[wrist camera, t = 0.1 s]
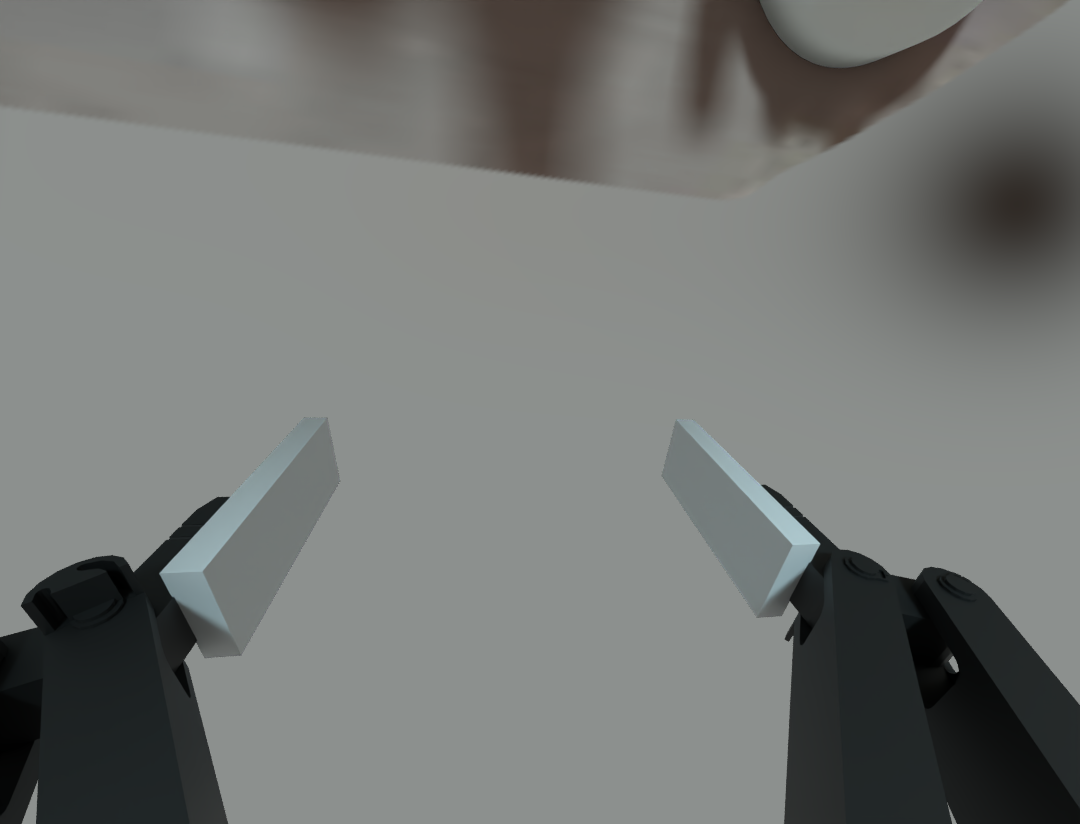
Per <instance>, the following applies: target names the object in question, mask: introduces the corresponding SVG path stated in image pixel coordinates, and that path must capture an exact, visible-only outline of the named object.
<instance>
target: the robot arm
mask: <svg viewBox="0 0 1080 824" xmlns="http://www.w3.org/2000/svg"><path fill="white" fill-rule="evenodd" d="M662 477H663V479H664V480H665V482H666V483H667V485H668V486H669V488H670V489H671V490H672V492H673V493H674V495H675V497H676V498H677V500H678V501H679V502H680V504H681V505H682V507H683V508H684V510H685V511H686V513H687V514H688V516H689V517H690V519H691V520H692V522H693V523H694V525H695V526H696V528H697V529H698V531H699V532H700V534H701V535H702V537H703V538H704V540H705V541H706V543H707V544H708V546H709V547H710V548H711V550H712V552H713V553H714V555H715V556H716V558H717V559H718V560H719V562H720V563H721V565H722V566H723V568H724V569H725V571H726V572H727V574H728V575H729V577H730V578H731V580H732V581H733V583H734V584H735V586H736V587H737V589H738V590H739V592H740V593H741V595H742V596H743V598H744V599H745V601H746V602H747V604H748V605H749V607H750V608H751V609H752V611H753V612H754V614H755V616H756V617H757V618H760V617H774V616H782V614H783V612H784V611H785V609H786V607H787V605H788V603H789V601H790V602H791V603H792V604H793V605H794V607H795V608H796V609H797V610H798V612H799V613H798V615H797V617H796V618H795V620H794V622H793V624H792V626H791V627H790V629H789V631H788V632H787V635H786V637H785V640H787V641H790V639H791V637H792V636H794V639H793V659H792V679H791V700H790V719H789V740H788V759H787V760H788V761H787V779H786V800H785V820H784V824H952V821H951V817H950V813H949V809H948V805H949V807H950V809H951V811H952V814H953V816H954V818H955V820H956V823H957V824H1080V705H1079V704H1078V702H1077V701H1076V700H1075V699H1074V698H1073V696H1072V695H1071V694H1070V693H1069V692H1068V690H1067V689H1066V688H1065V687H1064V686H1063V684H1062V683H1061V682H1060V681H1059V679H1058V678H1057V677H1056V676H1055V675H1054V674H1053V672H1052V671H1051V670H1050V669H1049V667H1048V666H1047V665H1046V664H1045V663H1044V661H1043V660H1042V659H1041V658H1040V657H1039V655H1038V654H1037V653H1036V652H1035V651H1034V649H1033V648H1032V647H1031V646H1030V645H1029V643H1028V642H1027V641H1026V640H1025V638H1024V637H1023V636H1022V635H1021V634H1020V632H1019V631H1018V630H1017V629H1016V628H1015V626H1014V625H1013V624H1012V623H1011V622H1010V620H1009V619H1008V618H1007V617H1006V616H1005V614H1004V613H1003V612H1002V611H1001V610H1000V608H999V607H998V606H997V605H996V604H995V602H994V601H993V600H992V599H991V598H990V597H989V596H988V595H987V594H986V593H985V592H984V591H983V590H982V589H981V588H979V587H978V586H976V585H975V584H974V583H972V582H971V581H970V580H968V579H966V578H965V577H961V575H958V574H956V573H953V572H950V571H947V570H944V569H941V568H934V567H929V568H924V569H923V571H922V572H921V573H920V575H919V576H918V577H917V579H916V580H914V579H909V578H904V577H899V576H894V575H890V574H889V573H888V572H887V571H886V570H885V569H884V568H883V567H882V566H880V565H879V564H878V563H876V562H875V561H873V560H872V559H870V558H868V557H866V556H864V555H862V554H859V553H856V552H853V551H849V550H840V549H838V548H837V547H836V546H835V545H834V544H833V543H832V542H831V541H830V540H829V539H828V538H827V537H826V536H825V535H824V534H823V533H821V532H820V531H819V530H818V529H817V528H816V527H815V526H814V525H813V524H812V523H811V522H810V521H809V520H808V519H807V518H806V517H803V515H802V514H801V513H800V512H799V511H798V510H797V509H796V508H793V505H792V504H791V503H790V502H789V501H787V499H785V498H784V497H783V496H782V495H781V494H779V493H778V492H776V491H775V490H773V489H771V488H770V487H768V486H766V485H760V484H759V483H758V482H757V481H756V480H755V479H754V478H753V477H752V476H751V475H750V474H749V473H748V472H747V471H746V470H745V469H743V467H742V466H741V465H739V464H738V462H736V461H735V460H734V459H733V458H732V457H731V456H730V455H729V454H728V453H727V452H726V451H725V450H724V449H723V448H722V447H721V446H720V445H719V444H718V443H717V442H716V441H715V440H714V439H713V438H712V437H711V436H710V435H709V434H708V433H707V432H706V431H705V430H704V429H703V428H702V427H701V426H700V425H699V424H698V423H697V422H696V421H694V420H676V421H675V426H674V429H673V433H672V437H671V441H670V445H669V449H668V452H667V456H666V460H665V464H664V468H663V472H662ZM339 482H340V477H339V473H338V468H337V463H336V458H335V453H334V448H333V443H332V438H331V434H330V428H329V423H328V418H303V419H302V420H301V421H300V423H299V424H298V425H297V426H296V427H295V428H294V429H293V430H292V431H291V432H290V433H289V435H287V436H286V438H285V439H284V440H283V441H282V442H281V443H280V444H279V445H278V446H277V447H276V448H275V449H274V450H273V452H272V453H271V454H270V455H269V456H268V457H267V458H266V459H265V460H264V461H263V462H262V463H261V465H260V466H259V467H258V468H257V469H256V470H255V471H254V472H253V473H252V474H251V475H250V476H249V477H248V479H247V480H246V481H245V482H244V483H243V484H242V485H241V486H240V487H239V488H238V489H237V490H236V491H235V493H234V494H233V495H232V496H231V497H217V498H215V499H214V500H212V501H210V502H209V503H207V504H205V505H204V506H202V507H201V508H199V509H197V510H196V511H195V512H194V513H193V514H192V515H191V516H190V517H189V518H188V519H187V520H186V521H185V522H184V523H183V524H182V527H179V528H178V529H177V530H176V531H175V532H174V533H173V534H172V535H171V536H170V539H169V540H166V541H165V542H164V543H163V544H162V545H161V546H160V547H159V548H158V549H157V550H156V551H155V552H154V553H153V554H152V555H151V556H150V557H149V558H148V559H147V560H146V561H145V562H144V563H143V564H142V565H141V566H140V567H139V568H138V569H137V570H136V571H135V572H134V573H133V571H132V570H131V568H130V566H129V564H128V563H127V561H126V560H125V559H124V558H123V557H118V556H113V555H111V556H102V557H95V558H92V559H88V560H85V561H81V562H78V563H75V564H73V565H71V566H69V567H66V568H64V569H62V570H60V571H57V572H56V573H54V574H53V575H51V576H49V577H48V578H46V579H45V580H43V581H42V582H40V583H38V584H37V585H36V586H35V587H34V588H33V589H32V590H31V591H30V592H29V593H28V594H27V595H26V596H25V598H24V600H23V602H22V604H21V607H22V608H23V609H24V610H25V612H26V613H27V614H28V615H29V617H30V618H31V619H32V620H33V621H34V623H35V624H36V625H37V628H33V629H29V630H26V631H22V632H18V633H14V634H11V635H7V636H3V637H0V824H22V821H23V818H24V816H25V813H26V810H27V808H28V805H29V802H30V800H31V797H32V794H33V792H34V789H35V786H36V784H37V781H38V795H37V797H38V798H37V816H36V824H228V822H227V818H226V814H225V810H224V806H223V802H222V798H221V794H220V790H219V786H218V782H217V778H216V774H215V770H214V766H213V763H212V759H211V755H210V751H209V747H208V743H207V739H206V735H205V731H204V727H203V723H202V719H201V716H200V711H199V707H198V703H197V700H196V696H195V692H194V688H193V684H192V680H191V676H190V672H189V668H188V666H187V665H186V663H185V661H184V659H185V658H186V656H187V654H188V653H189V652H190V650H191V649H192V647H193V646H194V644H195V643H197V645H198V647H199V649H200V650H201V652H202V654H203V656H204V658H212V657H226V656H240V655H242V653H243V651H244V650H245V648H246V646H247V644H248V643H249V641H250V639H251V637H252V636H253V634H254V632H255V630H256V628H257V627H258V625H259V623H260V621H261V620H262V618H263V616H264V614H265V613H266V611H267V609H268V607H269V606H270V604H271V602H272V600H273V598H274V597H275V595H276V593H277V591H278V590H279V588H280V586H281V584H282V582H283V581H284V579H285V577H286V576H287V574H288V572H289V570H290V569H291V567H292V565H293V563H294V561H295V560H296V558H297V556H298V554H299V552H300V551H301V549H302V547H303V546H304V544H305V542H306V540H307V539H308V537H309V535H310V533H311V531H312V530H313V528H314V526H315V524H316V522H317V521H318V519H319V517H320V516H321V514H322V512H323V510H324V509H325V507H326V505H327V503H328V501H329V499H330V498H331V496H332V494H333V493H334V491H335V489H336V487H337V486H338V484H339ZM952 656H954V657H955V659H956V661H957V664H958V668H959V672H957V673H956V672H955V671H954V670H953V668H952V666H951V665H950V663H949V662H948V661H949V660H950V659H951V657H952ZM947 803H948V805H947Z"/></svg>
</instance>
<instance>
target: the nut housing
mask: <svg viewBox="0 0 1080 824" xmlns="http://www.w3.org/2000/svg"><path fill="white" fill-rule="evenodd" d="M982 1H983V0H760V4H761V6H762V8H763V10H764V12H765V15H766V17H767V19H768V21H769V23H770V24H771V26H772V27H773V29H774V30H775V32H776V34H777V35H778V36H779V38H780V39H781V40H782V41H783V42H784V43H785V44H786V45H787V46H788V48H790V49H791V50H792V51H793V52H795V53H796V54H797V55H799V56H800V57H801V58H804V59H806V60H808V61H810V62H812V63H814V64H817V65H821V66H825V67H830V68H849V67H857V66H861V65H865V64H868V63H871V62H874V61H877V60H879V59H882V58H884V57H887V56H889V55H892V54H894V53H897V52H899V51H901V50H904V49H906V48H909V47H911V46H914V45H916V44H919V43H921V42H923V41H925V40H927V39H930V38H932V37H934V36H936V35H938V34H939V33H941V32H943V31H944V30H946V29H948V28H949V27H951V26H952V25H954V24H956V23H957V22H958V21H959V20H961V19H962V18H963V17H965V16H966V15H967V14H969V13H970V12H971V11H972V10H974V9H975V8H976V7H977V6H978V5H979V4H980V3H981V2H982Z"/></svg>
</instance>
